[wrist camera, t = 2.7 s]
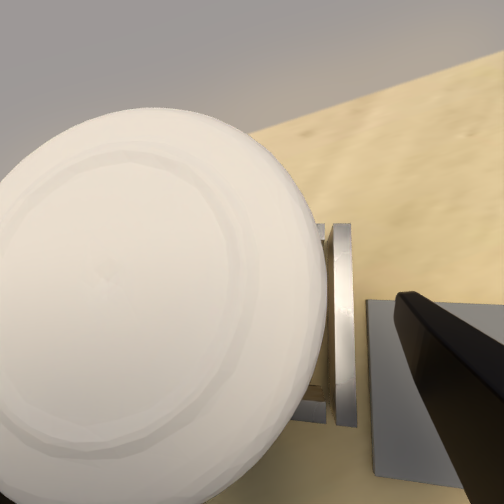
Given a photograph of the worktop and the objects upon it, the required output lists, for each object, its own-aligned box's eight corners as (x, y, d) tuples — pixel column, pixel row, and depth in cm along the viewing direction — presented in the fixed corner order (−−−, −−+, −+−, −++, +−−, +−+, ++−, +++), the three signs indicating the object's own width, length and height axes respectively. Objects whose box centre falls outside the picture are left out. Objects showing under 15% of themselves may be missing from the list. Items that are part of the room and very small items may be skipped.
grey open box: (345, 405, 14) (357, 427, 11) (184, 388, 15) (157, 403, 12) (341, 241, 16) (350, 223, 13) (199, 240, 17) (179, 224, 15)
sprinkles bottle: (230, 361, 15) (-135, 574, 2) (220, 281, 17) (-59, 140, 4) (313, 349, 15) (404, 542, 2) (296, 267, 16) (281, 41, 3)
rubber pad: (574, 500, 12) (584, 506, 11) (373, 471, 13) (375, 475, 13) (538, 307, 13) (545, 306, 13) (366, 300, 15) (367, 299, 14)
